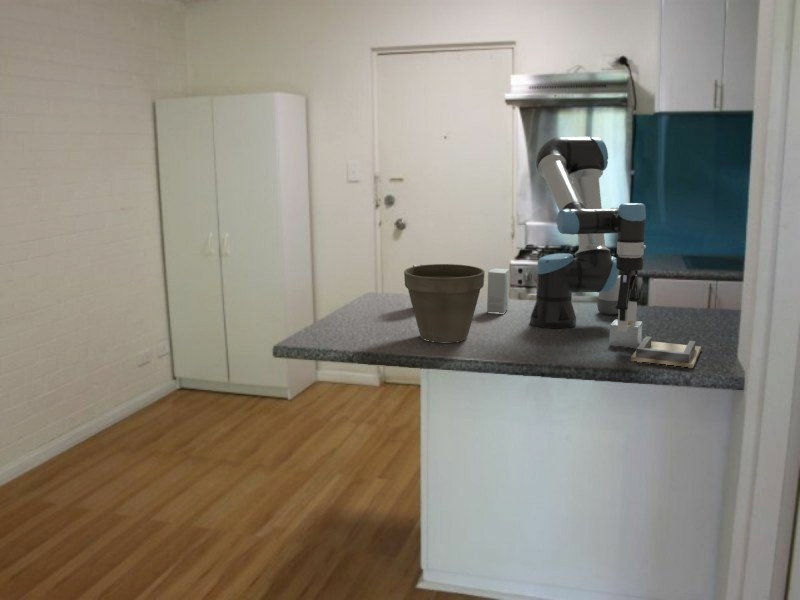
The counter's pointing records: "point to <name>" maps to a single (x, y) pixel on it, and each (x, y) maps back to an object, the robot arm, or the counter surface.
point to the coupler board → (669, 348)
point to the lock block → (626, 334)
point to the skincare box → (498, 290)
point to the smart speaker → (609, 300)
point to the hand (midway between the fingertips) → (626, 326)
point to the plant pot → (444, 299)
